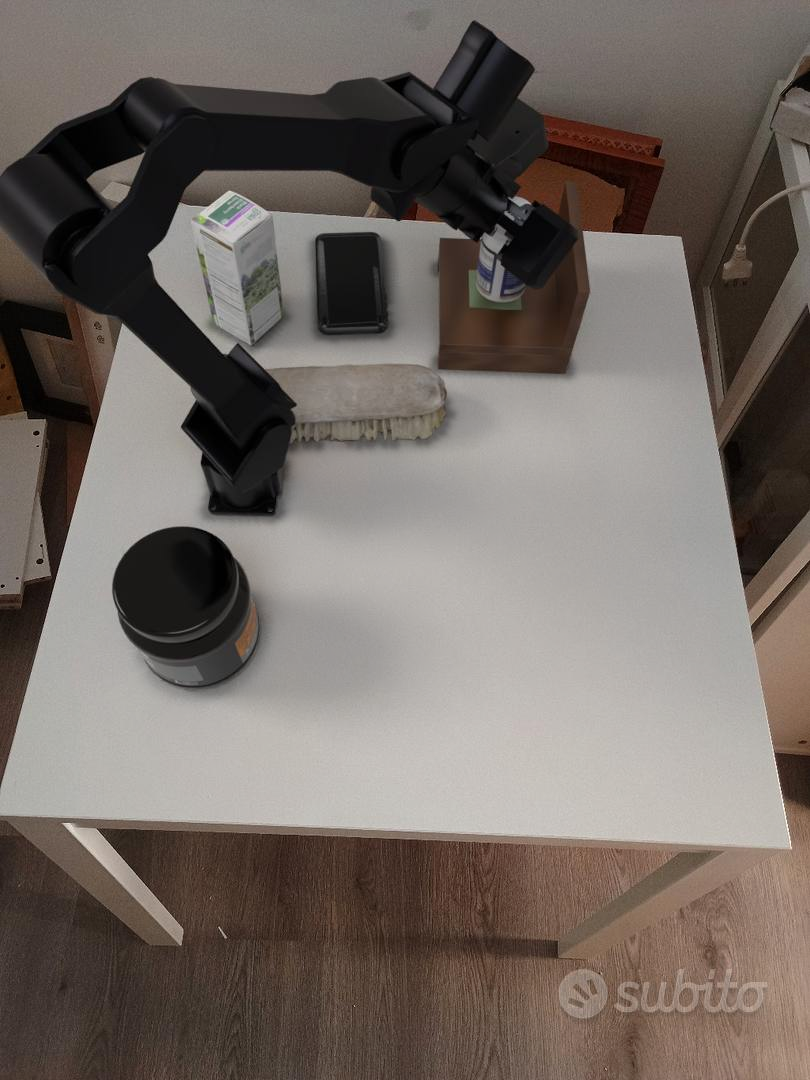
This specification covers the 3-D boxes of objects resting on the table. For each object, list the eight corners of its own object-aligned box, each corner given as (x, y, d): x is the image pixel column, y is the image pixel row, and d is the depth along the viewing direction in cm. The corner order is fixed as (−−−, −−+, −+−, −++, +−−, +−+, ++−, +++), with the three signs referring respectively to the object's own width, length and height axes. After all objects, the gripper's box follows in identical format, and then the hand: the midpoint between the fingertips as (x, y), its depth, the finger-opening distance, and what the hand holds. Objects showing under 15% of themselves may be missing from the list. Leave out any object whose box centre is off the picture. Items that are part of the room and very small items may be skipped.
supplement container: (275, 595, 76) (258, 530, 66) (245, 704, 71) (222, 653, 61) (164, 576, 77) (130, 509, 66) (126, 683, 72) (83, 629, 61)
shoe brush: (442, 383, 89) (445, 352, 84) (450, 440, 85) (454, 410, 81) (216, 395, 87) (208, 363, 83) (215, 453, 84) (206, 423, 79)
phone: (317, 328, 91) (314, 233, 98) (318, 335, 92) (315, 240, 99) (389, 325, 91) (381, 231, 98) (389, 333, 92) (381, 238, 99)
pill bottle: (530, 274, 89) (546, 197, 81) (519, 309, 87) (536, 233, 78) (481, 263, 90) (492, 185, 81) (469, 297, 87) (480, 221, 79)
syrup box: (246, 295, 94) (226, 185, 82) (286, 318, 93) (272, 210, 80) (212, 324, 92) (186, 216, 79) (253, 349, 90) (233, 243, 78)
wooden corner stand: (437, 369, 90) (445, 286, 79) (437, 264, 98) (444, 176, 87) (565, 373, 90) (590, 291, 80) (555, 269, 98) (576, 181, 87)
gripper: (589, 146, 63) (642, 208, 77) (427, 35, 70) (502, 110, 83) (501, 272, 67) (566, 309, 81) (356, 156, 74) (438, 208, 87)
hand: (518, 230), depth 83 cm, fingers closed on pill bottle, 5 cm apart
